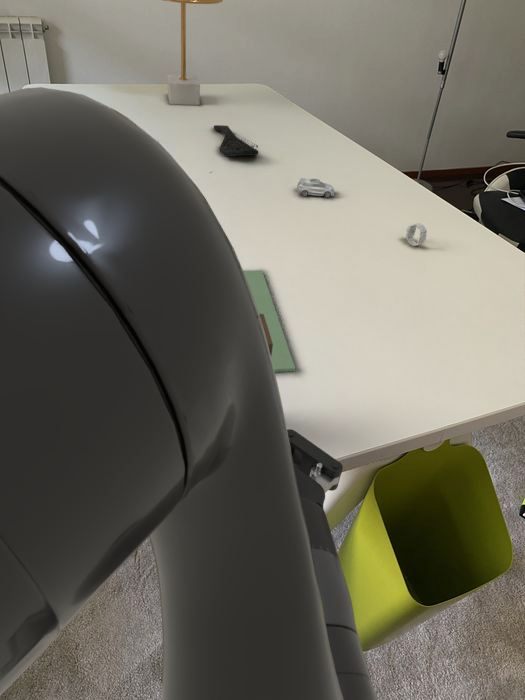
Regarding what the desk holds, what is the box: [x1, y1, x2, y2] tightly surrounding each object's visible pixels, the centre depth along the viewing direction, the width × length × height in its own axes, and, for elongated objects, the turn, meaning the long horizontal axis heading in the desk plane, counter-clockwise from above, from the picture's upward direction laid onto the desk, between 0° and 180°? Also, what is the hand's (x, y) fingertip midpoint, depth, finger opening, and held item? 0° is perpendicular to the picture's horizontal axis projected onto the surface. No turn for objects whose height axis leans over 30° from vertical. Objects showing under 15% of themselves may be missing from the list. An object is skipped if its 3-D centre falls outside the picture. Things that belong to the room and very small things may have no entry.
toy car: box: [296, 177, 336, 199], centre depth 114 cm, size 4×8×3 cm, turn 93°
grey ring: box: [405, 222, 428, 247], centre depth 100 cm, size 4×2×4 cm, turn 31°
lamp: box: [162, 0, 224, 106], centre depth 147 cm, size 21×21×41 cm
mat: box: [243, 270, 296, 373], centre depth 78 cm, size 16×24×1 cm, turn 10°
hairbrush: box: [213, 124, 259, 157], centre depth 133 cm, size 8×4×25 cm
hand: (250, 404), depth 51 cm, fingers closed
